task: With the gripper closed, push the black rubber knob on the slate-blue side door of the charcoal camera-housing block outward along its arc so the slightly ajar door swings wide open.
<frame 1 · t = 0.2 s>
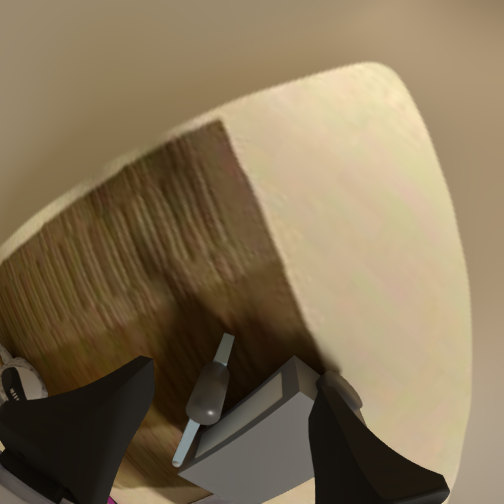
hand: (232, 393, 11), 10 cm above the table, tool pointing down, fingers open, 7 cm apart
camera housing: (269, 427, 22), on the table
mug: (22, 368, 24), on the table
side door: (194, 423, 18), point 4 cm above the table, hinge at 20.0°
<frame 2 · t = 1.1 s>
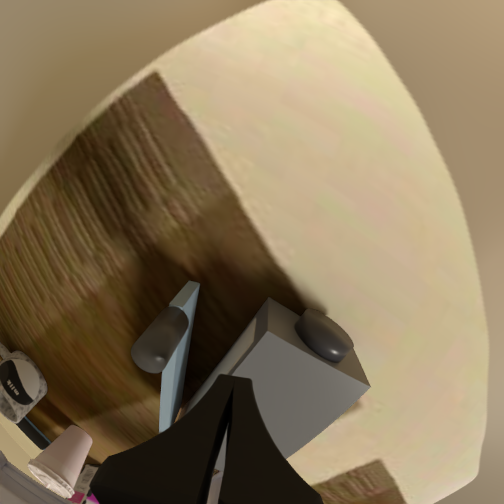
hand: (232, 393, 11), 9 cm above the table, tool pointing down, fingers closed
camera housing: (260, 385, 22), on the table
candy bar box: (117, 483, 29), on the table
mug: (21, 362, 25), on the table
smartphone: (18, 413, 29), on the table
smoothie: (81, 433, 26), on the table
side door: (167, 384, 17), point 4 cm above the table, hinge at 20.0°
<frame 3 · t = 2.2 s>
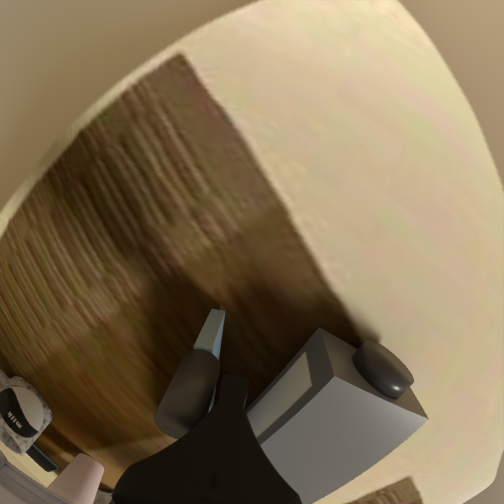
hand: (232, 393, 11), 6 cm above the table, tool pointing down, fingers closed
camera housing: (301, 419, 18), on the table
mug: (22, 387, 21), on the table
smartphone: (21, 435, 25), on the table
smoothie: (91, 461, 23), on the table
side door: (196, 431, 14), point 4 cm above the table, hinge at 23.9°, touching gripper
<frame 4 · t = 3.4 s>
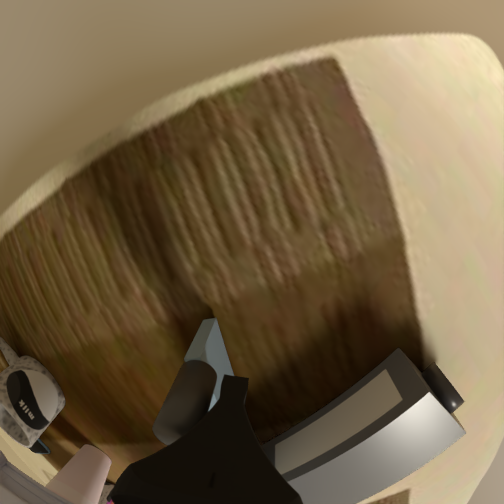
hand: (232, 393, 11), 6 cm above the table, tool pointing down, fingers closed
camera housing: (351, 429, 18), on the table
candy bar box: (122, 499, 25), on the table
mug: (31, 368, 20), on the table
smartphone: (11, 412, 24), on the table
smoothie: (97, 453, 22), on the table
side door: (227, 440, 14), point 4 cm above the table, hinge at 55.8°, touching gripper
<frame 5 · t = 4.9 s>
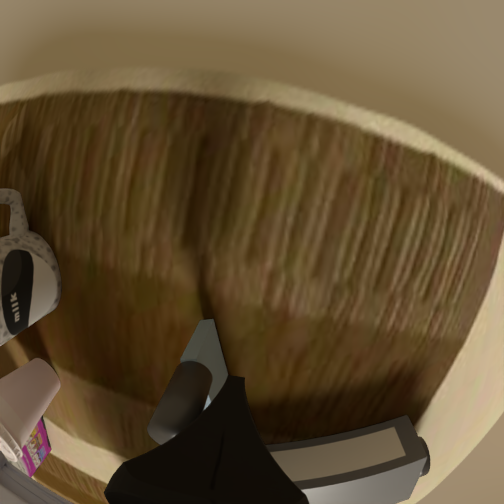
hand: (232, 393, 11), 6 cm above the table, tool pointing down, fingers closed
camera housing: (327, 461, 19), on the table
candy bar box: (33, 419, 23), on the table
mug: (33, 251, 17), on the table
smoothie: (47, 373, 20), on the table
side door: (219, 440, 14), point 4 cm above the table, hinge at 87.7°, touching gripper
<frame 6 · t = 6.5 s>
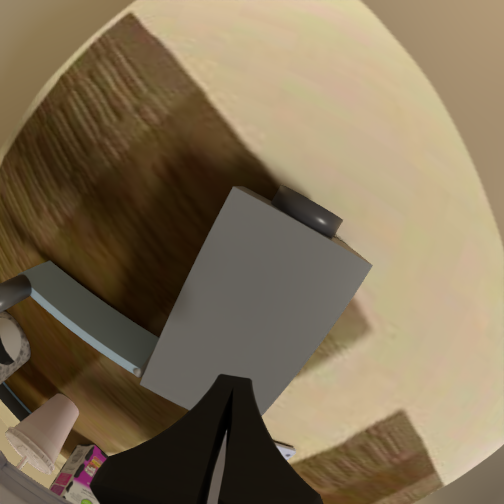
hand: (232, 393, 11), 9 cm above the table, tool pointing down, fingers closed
camera housing: (247, 303, 20), on the table
candy bar box: (112, 467, 28), on the table
mug: (6, 325, 23), on the table
smartphone: (10, 395, 28), on the table
smoothie: (67, 404, 25), on the table
side door: (72, 324, 17), point 4 cm above the table, hinge at 88.1°
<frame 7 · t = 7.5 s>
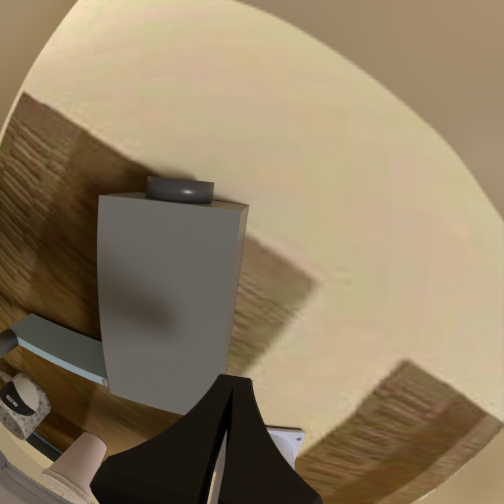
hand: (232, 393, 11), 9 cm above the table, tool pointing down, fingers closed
camera housing: (181, 295, 20), on the table
mug: (25, 385, 26), on the table
smartphone: (54, 451, 30), on the table
smoothie: (94, 440, 26), on the table
side door: (50, 356, 18), point 4 cm above the table, hinge at 88.1°
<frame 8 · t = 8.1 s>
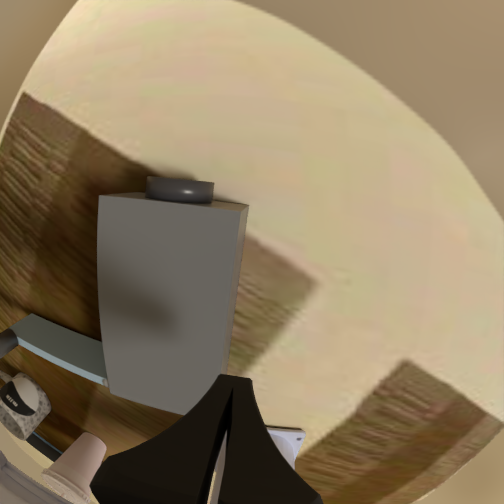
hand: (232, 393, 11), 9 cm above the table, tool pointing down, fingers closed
camera housing: (181, 295, 20), on the table
mug: (25, 385, 26), on the table
smartphone: (54, 451, 30), on the table
smoothie: (94, 440, 26), on the table
side door: (50, 356, 18), point 4 cm above the table, hinge at 88.1°
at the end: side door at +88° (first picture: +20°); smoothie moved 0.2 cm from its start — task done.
